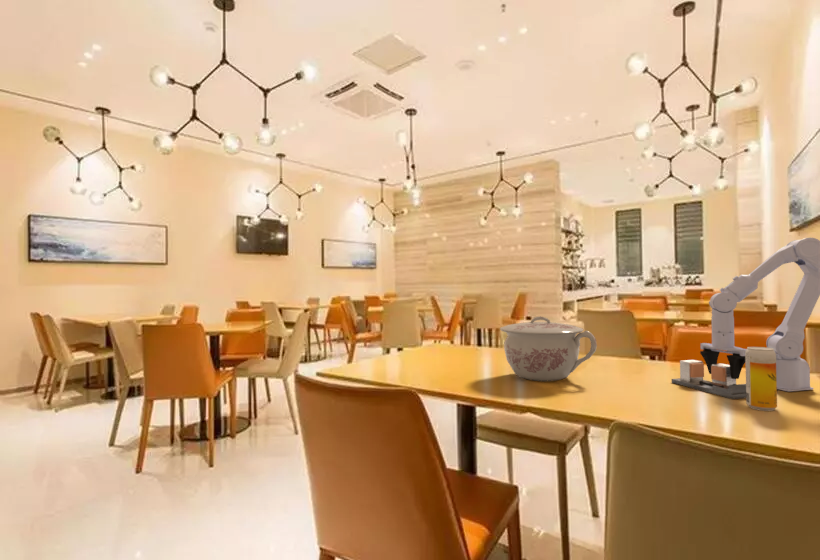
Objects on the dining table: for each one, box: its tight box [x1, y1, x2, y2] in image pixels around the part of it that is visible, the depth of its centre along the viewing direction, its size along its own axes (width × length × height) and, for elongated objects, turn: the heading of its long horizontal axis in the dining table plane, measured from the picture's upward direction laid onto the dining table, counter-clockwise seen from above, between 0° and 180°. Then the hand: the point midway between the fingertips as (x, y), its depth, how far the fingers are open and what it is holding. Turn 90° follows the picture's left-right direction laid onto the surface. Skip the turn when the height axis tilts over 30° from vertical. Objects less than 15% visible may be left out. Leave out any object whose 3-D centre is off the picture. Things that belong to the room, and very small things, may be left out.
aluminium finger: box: [710, 363, 737, 386], centre depth 138 cm, size 4×5×6 cm
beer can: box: [744, 346, 778, 412], centre depth 113 cm, size 6×6×15 cm
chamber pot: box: [499, 316, 598, 382], centre depth 153 cm, size 28×28×21 cm
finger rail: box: [671, 359, 746, 400], centre depth 133 cm, size 21×8×7 cm, turn 13°
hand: (723, 376), depth 139 cm, fingers open, 7 cm apart
